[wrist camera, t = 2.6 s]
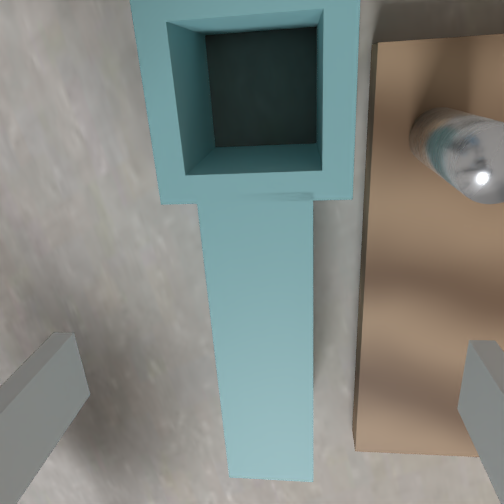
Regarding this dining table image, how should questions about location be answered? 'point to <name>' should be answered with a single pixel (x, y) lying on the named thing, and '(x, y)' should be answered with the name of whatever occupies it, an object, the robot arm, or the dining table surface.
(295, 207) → the link
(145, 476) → the dining table surface
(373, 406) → the board
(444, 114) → the cylinder
